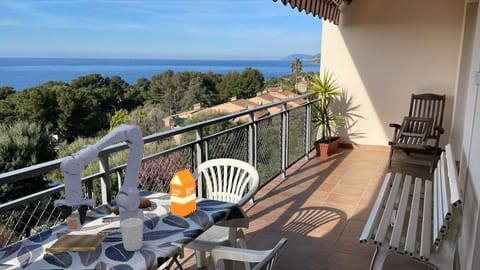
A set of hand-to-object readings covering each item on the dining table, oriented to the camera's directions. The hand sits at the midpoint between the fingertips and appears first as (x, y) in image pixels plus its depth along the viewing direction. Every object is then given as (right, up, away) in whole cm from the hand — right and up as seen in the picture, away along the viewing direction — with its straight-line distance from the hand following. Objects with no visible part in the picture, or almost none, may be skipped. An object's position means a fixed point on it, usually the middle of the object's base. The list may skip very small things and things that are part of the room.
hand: (76, 223), depth 140 cm
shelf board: (-1, -9, +4) cm, 9 cm away
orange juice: (+35, -3, +35) cm, 50 cm away
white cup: (+21, -9, +1) cm, 23 cm away
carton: (0, -1, 0) cm, 1 cm away
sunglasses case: (+9, -3, +40) cm, 41 cm away
